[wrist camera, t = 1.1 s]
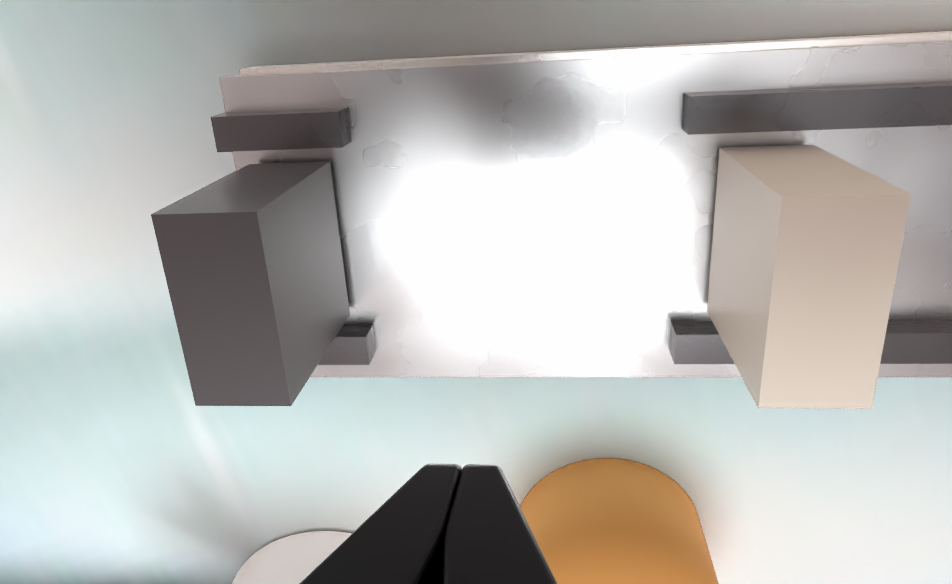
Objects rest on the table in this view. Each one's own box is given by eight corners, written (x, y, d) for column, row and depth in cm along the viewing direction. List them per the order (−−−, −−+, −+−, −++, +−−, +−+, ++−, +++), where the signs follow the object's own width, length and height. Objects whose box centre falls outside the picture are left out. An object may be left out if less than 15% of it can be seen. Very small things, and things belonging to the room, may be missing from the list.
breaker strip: (1005, 26, 16) (1092, 29, 14) (937, 341, 19) (998, 393, 17) (251, 64, 18) (202, 73, 16) (297, 345, 21) (262, 391, 19)
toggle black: (330, 161, 17) (256, 211, 12) (350, 314, 18) (290, 406, 14) (249, 164, 17) (151, 214, 13) (275, 315, 18) (195, 405, 14)
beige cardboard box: (813, 144, 15) (911, 194, 11) (791, 310, 17) (871, 408, 13) (719, 148, 16) (782, 197, 11) (706, 311, 17) (757, 408, 13)
